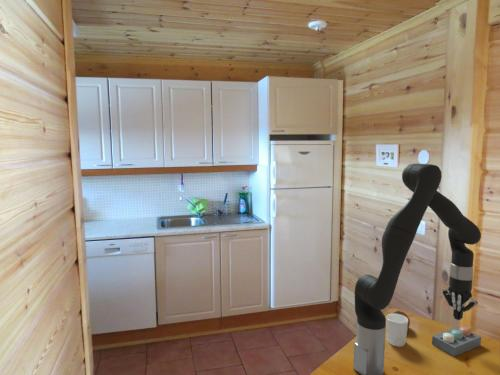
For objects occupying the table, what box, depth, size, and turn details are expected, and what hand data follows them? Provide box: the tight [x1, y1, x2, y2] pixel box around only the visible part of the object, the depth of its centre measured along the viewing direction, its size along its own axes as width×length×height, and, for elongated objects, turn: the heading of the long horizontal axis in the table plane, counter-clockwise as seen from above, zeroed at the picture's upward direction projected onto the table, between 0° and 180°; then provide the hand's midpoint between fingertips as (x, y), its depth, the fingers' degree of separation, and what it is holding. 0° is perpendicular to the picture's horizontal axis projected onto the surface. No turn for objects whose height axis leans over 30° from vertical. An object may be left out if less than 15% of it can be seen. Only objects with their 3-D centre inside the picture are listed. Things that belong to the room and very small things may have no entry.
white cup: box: [385, 312, 409, 347], centre depth 139 cm, size 8×8×10 cm
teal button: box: [451, 330, 463, 341], centre depth 136 cm, size 4×4×4 cm
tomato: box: [393, 310, 411, 330], centre depth 149 cm, size 8×8×7 cm
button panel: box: [431, 325, 482, 357], centre depth 137 cm, size 16×9×4 cm, turn 116°
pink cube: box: [459, 326, 472, 337], centre depth 139 cm, size 4×4×4 cm
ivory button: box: [443, 333, 454, 344], centre depth 134 cm, size 4×4×4 cm
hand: (457, 319), depth 135 cm, fingers closed
